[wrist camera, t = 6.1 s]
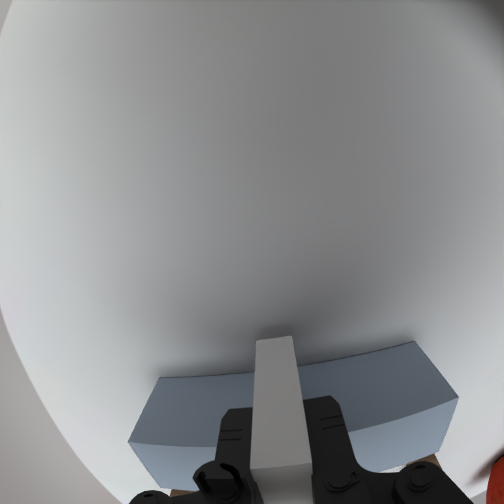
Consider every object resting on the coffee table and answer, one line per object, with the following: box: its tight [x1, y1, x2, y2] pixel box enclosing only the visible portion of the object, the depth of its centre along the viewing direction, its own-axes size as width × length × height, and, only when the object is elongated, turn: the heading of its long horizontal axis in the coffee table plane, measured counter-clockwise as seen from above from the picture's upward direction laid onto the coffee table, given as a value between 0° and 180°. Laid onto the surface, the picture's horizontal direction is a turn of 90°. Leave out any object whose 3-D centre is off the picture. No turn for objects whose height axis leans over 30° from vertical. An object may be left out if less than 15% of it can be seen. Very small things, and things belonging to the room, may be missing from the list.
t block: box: [128, 341, 459, 491], centre depth 13 cm, size 10×14×5 cm
